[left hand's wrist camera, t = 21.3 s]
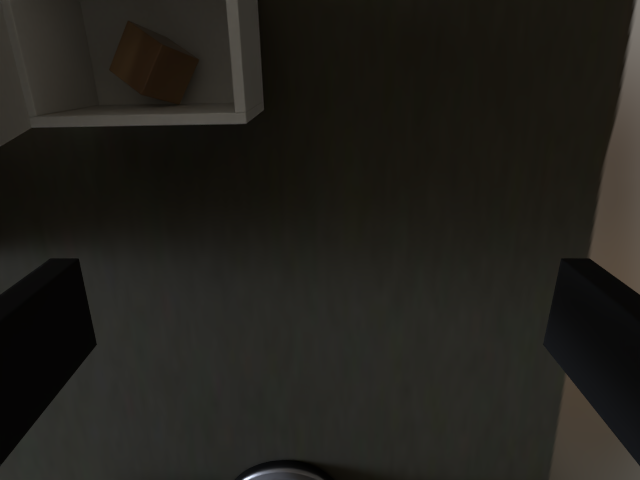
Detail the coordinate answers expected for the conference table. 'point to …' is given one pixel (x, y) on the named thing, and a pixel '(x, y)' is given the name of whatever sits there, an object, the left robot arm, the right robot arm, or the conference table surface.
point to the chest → (99, 49)
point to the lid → (10, 90)
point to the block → (153, 64)
